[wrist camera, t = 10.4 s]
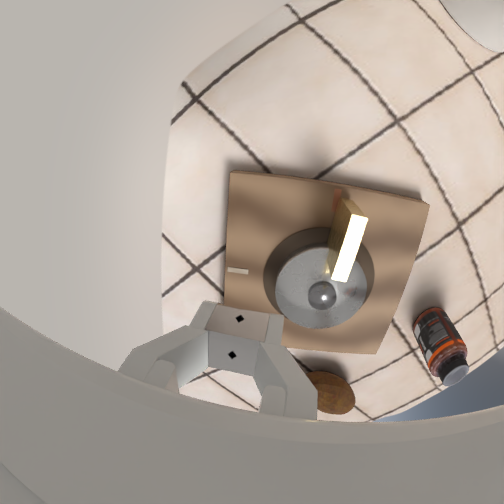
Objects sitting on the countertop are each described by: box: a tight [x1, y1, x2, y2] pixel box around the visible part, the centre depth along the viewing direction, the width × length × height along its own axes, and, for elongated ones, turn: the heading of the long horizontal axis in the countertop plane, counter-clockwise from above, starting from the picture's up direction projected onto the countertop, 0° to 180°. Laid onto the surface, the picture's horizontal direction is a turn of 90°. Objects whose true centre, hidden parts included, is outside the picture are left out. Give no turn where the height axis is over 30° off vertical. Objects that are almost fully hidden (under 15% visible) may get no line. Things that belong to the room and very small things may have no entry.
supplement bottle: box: [413, 308, 469, 386], centre depth 28 cm, size 6×6×11 cm
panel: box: [224, 170, 430, 354], centre depth 31 cm, size 22×22×2 cm
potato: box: [305, 371, 355, 414], centre depth 37 cm, size 7×12×7 cm, turn 64°
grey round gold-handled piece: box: [275, 197, 368, 329], centre depth 26 cm, size 15×10×6 cm, turn 170°
